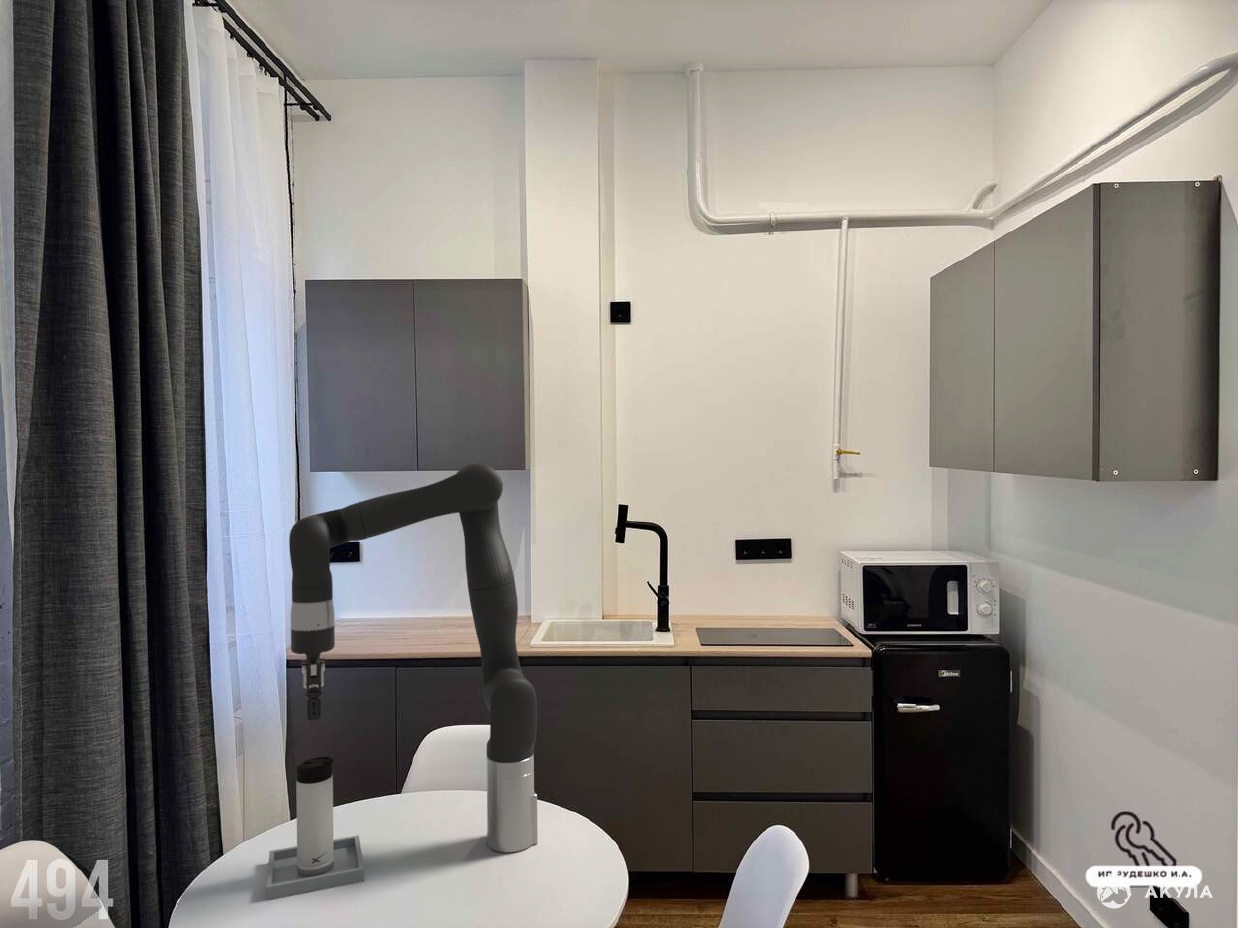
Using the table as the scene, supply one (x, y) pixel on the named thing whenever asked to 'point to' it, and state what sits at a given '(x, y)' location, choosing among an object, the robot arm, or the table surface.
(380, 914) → the table surface
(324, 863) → the travel mug
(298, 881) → the tray
